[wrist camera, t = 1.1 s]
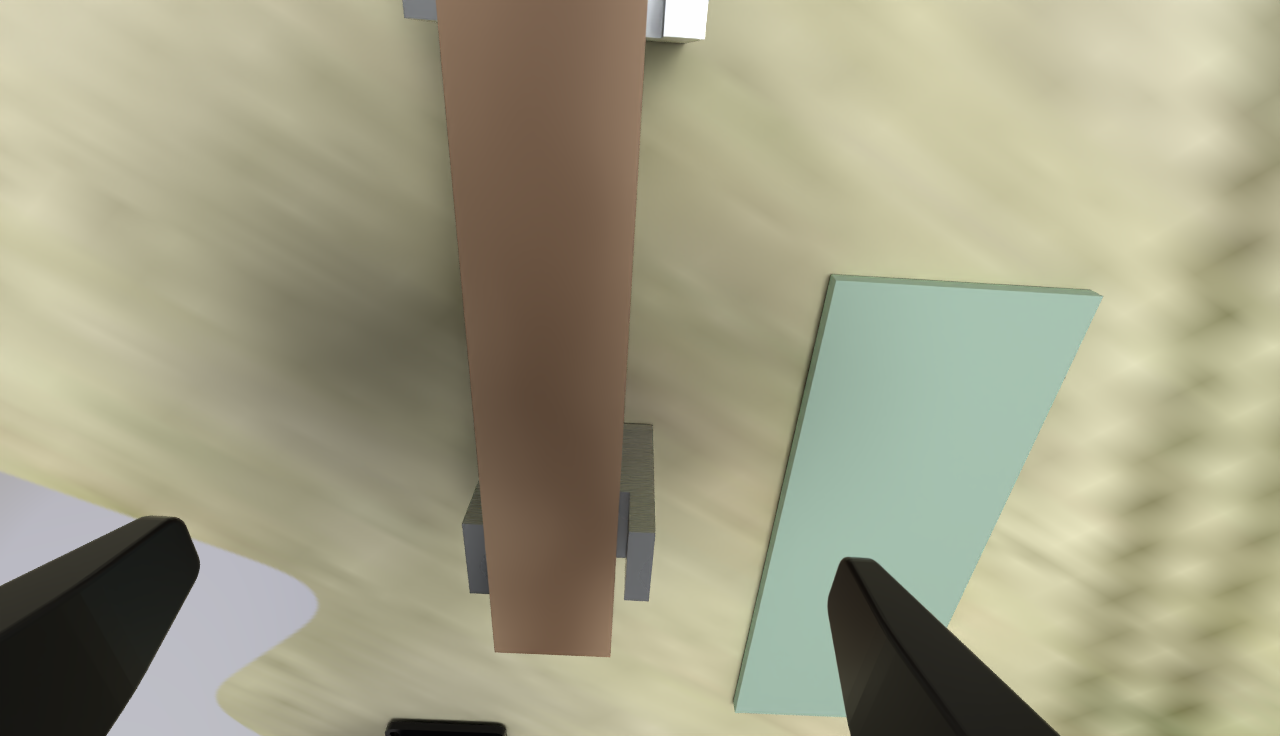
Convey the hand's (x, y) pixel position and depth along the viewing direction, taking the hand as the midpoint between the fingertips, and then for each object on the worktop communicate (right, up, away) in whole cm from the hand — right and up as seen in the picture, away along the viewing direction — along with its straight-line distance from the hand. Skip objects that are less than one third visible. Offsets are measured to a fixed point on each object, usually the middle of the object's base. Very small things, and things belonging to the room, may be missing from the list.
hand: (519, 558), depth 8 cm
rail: (0, +4, +8) cm, 9 cm away
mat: (+12, -5, +17) cm, 22 cm away
